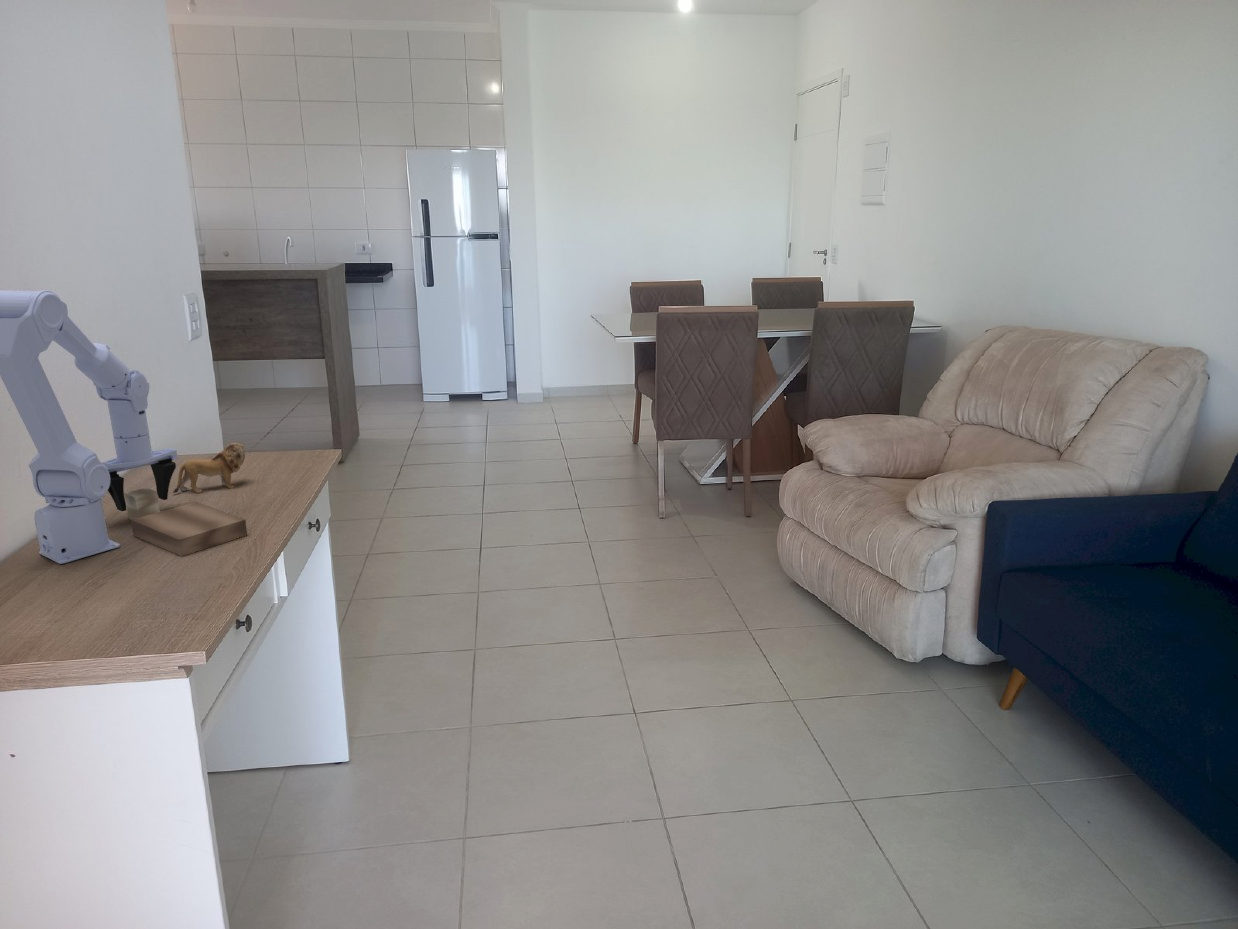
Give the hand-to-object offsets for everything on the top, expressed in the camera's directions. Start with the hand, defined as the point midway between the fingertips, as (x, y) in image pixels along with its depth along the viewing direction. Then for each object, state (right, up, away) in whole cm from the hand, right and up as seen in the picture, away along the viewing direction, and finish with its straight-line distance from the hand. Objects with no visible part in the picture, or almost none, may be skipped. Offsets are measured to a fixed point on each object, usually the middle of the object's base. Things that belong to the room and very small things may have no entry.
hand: (142, 504), depth 157 cm
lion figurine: (+5, +2, +18) cm, 19 cm away
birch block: (0, -2, +1) cm, 3 cm away
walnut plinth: (+13, -5, -8) cm, 16 cm away
